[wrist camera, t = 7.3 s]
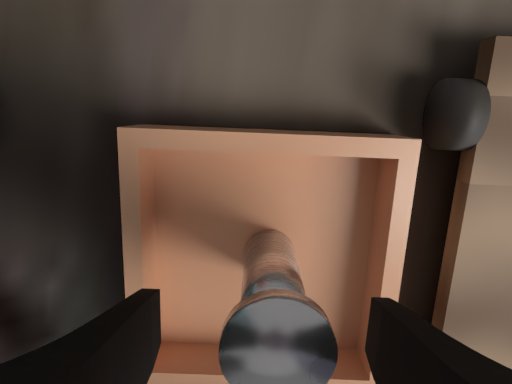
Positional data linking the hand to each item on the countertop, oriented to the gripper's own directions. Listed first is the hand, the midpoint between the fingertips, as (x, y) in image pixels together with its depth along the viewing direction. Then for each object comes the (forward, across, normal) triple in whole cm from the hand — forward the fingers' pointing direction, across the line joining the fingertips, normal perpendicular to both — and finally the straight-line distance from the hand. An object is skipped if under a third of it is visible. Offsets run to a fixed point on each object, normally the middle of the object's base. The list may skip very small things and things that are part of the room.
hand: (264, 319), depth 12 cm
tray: (+6, 0, 0) cm, 6 cm away
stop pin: (+6, 0, 0) cm, 6 cm away
